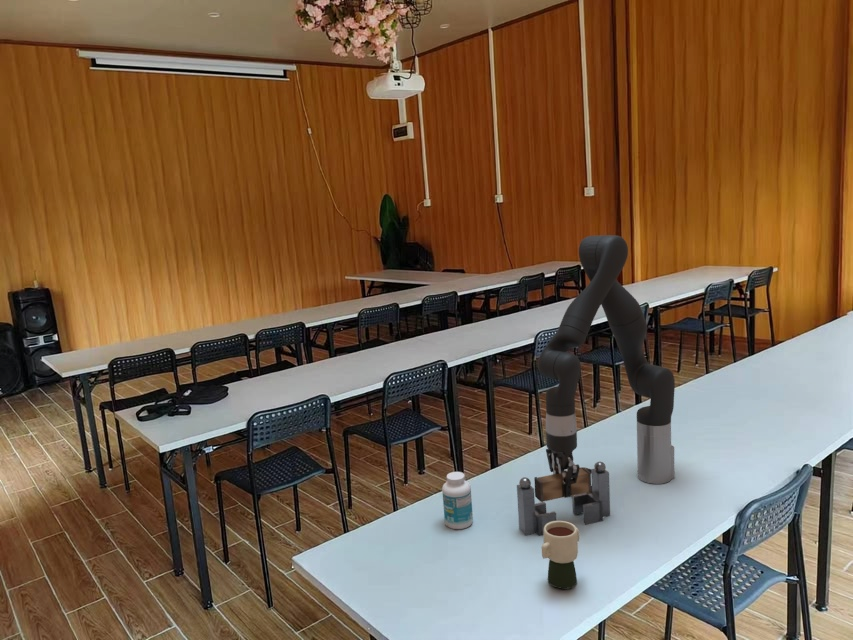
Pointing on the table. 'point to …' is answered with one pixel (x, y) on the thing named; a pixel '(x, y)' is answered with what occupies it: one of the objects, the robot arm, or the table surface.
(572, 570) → the character mug
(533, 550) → the table surface
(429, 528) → the table surface
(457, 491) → the pill bottle
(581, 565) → the table surface
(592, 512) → the ball knob clevis bracket
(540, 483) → the walnut rail
